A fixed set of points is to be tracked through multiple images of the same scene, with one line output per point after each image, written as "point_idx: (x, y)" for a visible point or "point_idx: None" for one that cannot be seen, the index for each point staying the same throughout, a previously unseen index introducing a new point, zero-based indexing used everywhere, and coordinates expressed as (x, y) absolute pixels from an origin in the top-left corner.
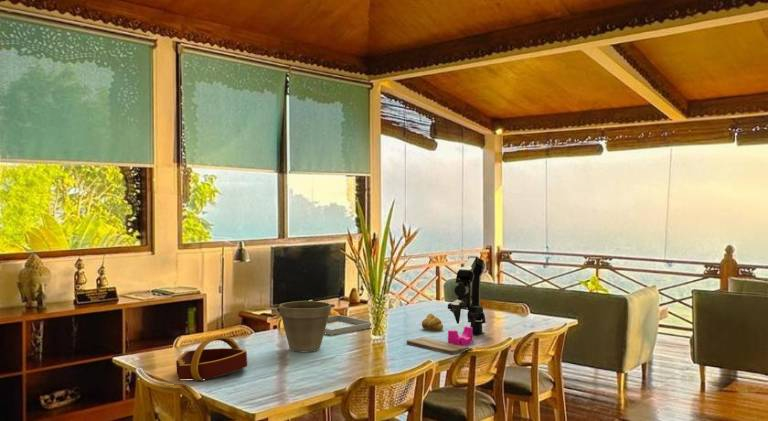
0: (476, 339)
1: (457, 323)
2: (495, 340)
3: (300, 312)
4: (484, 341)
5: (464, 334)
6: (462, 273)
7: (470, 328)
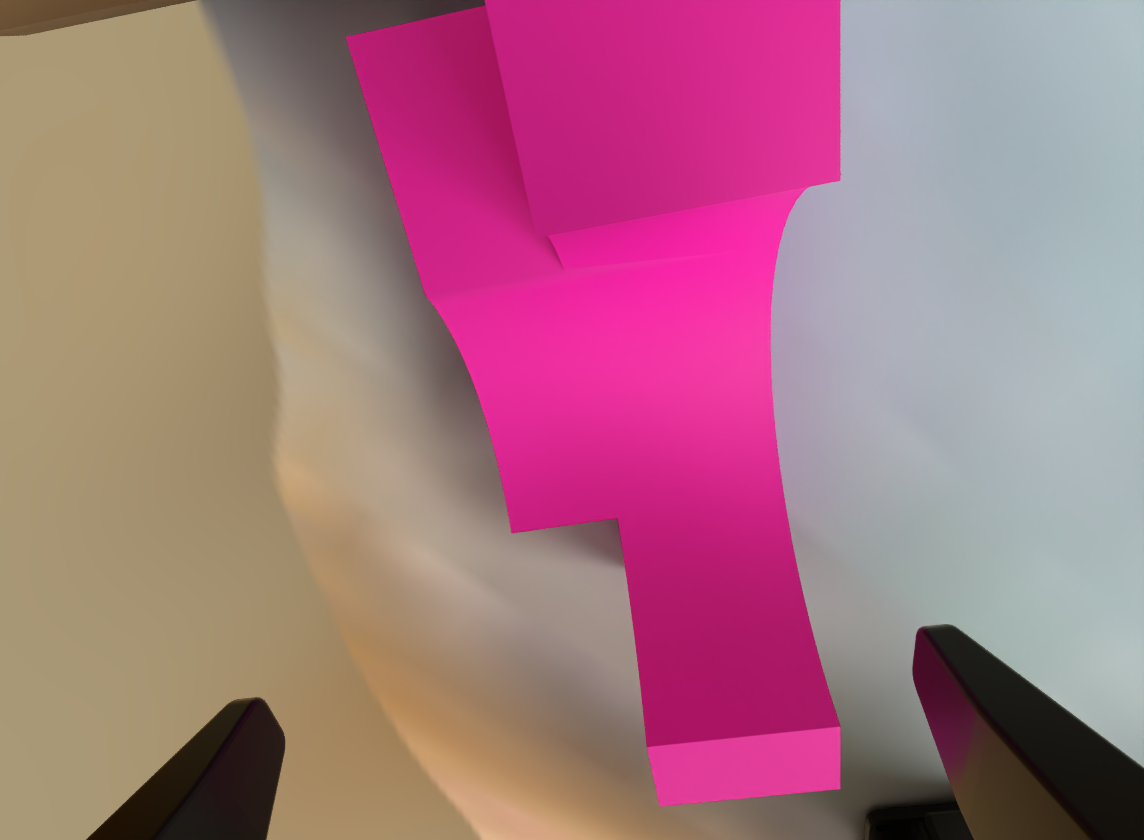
0: None
1: (926, 629)
2: (505, 797)
3: None
4: (538, 688)
5: (722, 549)
6: None
7: (647, 741)
